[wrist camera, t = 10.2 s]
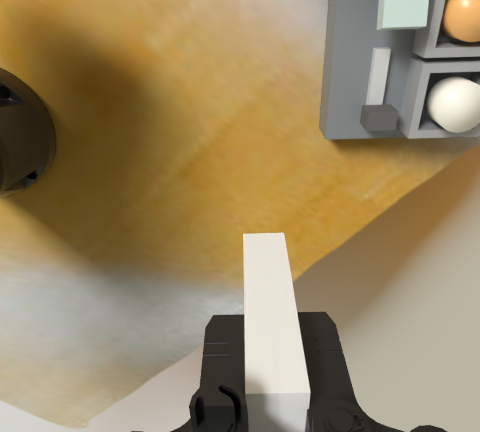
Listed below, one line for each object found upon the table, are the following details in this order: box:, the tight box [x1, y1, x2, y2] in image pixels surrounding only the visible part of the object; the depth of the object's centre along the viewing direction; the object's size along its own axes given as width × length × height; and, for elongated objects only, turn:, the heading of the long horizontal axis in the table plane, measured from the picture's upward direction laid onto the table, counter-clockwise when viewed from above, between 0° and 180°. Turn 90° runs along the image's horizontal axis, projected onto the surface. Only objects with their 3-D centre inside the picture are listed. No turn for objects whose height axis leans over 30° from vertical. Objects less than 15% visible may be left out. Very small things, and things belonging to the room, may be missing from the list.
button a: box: [425, 76, 480, 133], centre depth 37 cm, size 4×4×3 cm
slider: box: [360, 104, 399, 131], centre depth 39 cm, size 3×2×2 cm, turn 92°
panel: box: [319, 0, 480, 140], centre depth 37 cm, size 16×23×7 cm
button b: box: [439, 0, 480, 42], centre depth 34 cm, size 4×4×3 cm
